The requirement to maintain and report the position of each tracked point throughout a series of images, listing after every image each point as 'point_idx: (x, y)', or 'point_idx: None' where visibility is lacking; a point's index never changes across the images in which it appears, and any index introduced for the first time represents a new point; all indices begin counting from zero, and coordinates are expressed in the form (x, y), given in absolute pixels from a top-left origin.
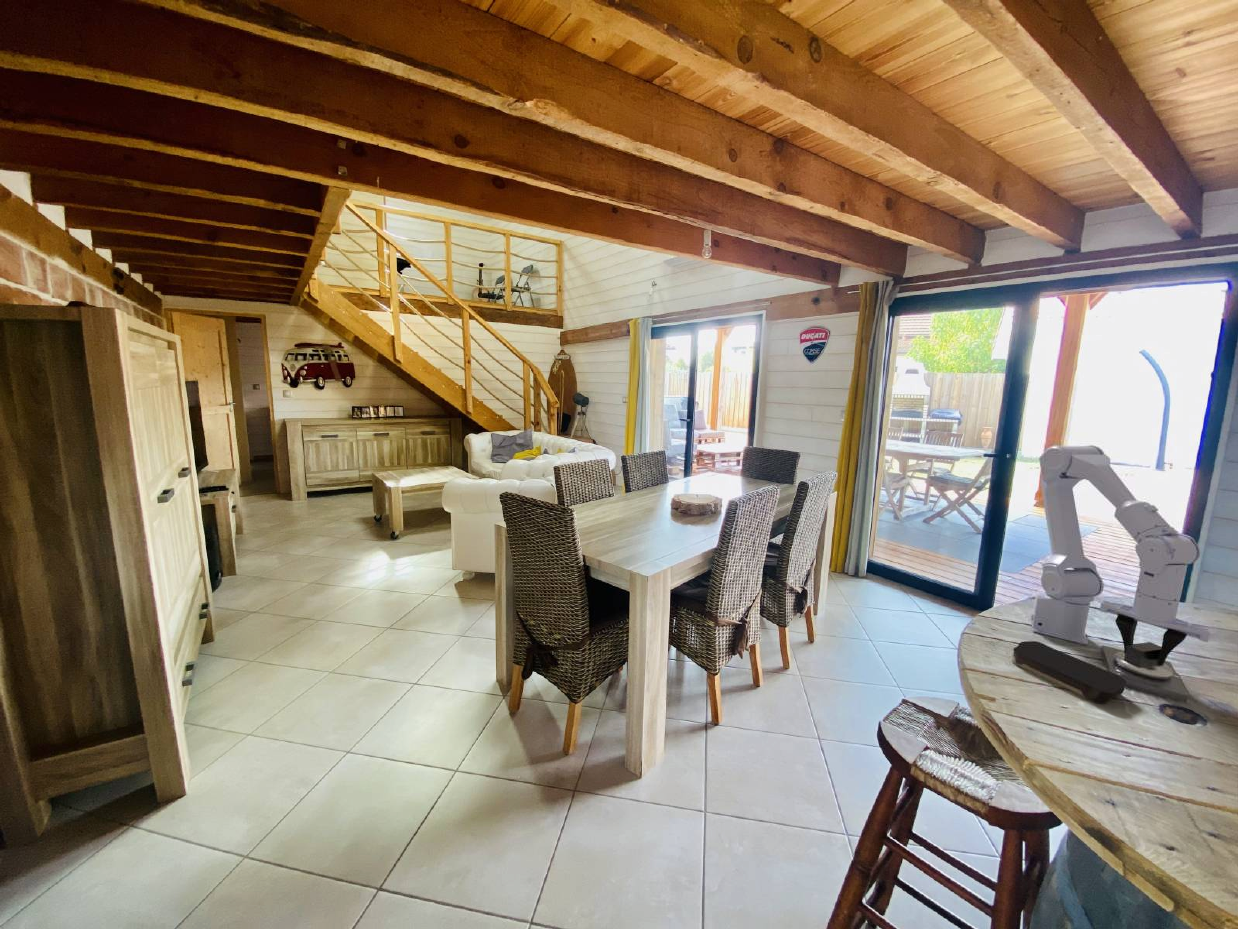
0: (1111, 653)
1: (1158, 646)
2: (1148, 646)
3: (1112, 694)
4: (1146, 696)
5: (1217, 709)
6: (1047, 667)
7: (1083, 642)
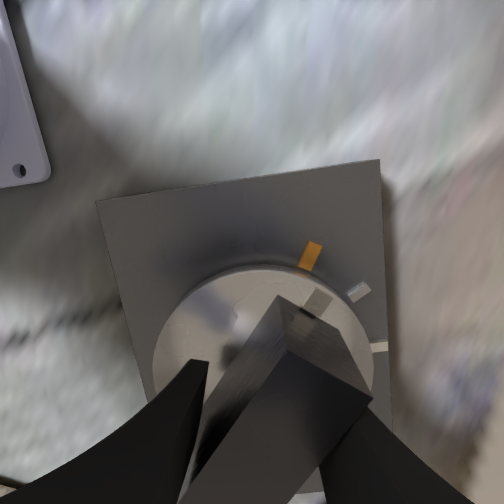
0: (145, 287)
1: (333, 398)
2: (276, 447)
3: None
4: None
5: (462, 426)
6: None
7: (28, 180)
